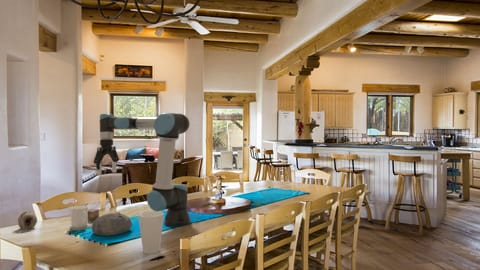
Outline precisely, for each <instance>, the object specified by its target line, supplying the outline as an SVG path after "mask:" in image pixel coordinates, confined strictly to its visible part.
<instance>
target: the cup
mask: <svg viewBox="0 0 480 270" xmlns="http://www.w3.org/2000/svg"><path fill="white" fill-rule="evenodd" d="M164 219H165V213H164V212H163V211H162V212H161V211H154V210H152V211H143V212H142V213H139V214H138V222H139V229H140V230H139V231H140V239H141V247H142V253H144V254H146V255H151V254H153V255H155V254H157V253H159V252H160V251H161V241H162V234H163V226H164V225H163V224H164Z"/></svg>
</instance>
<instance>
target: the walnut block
mask: <svg viewBox="0 0 480 270" xmlns="http://www.w3.org/2000/svg"><path fill="white" fill-rule="evenodd" d="M98 217H100V210H99V208H89V209H88V221H95V220H96V219H97V218H98Z"/></svg>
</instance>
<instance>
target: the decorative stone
mask: <svg viewBox="0 0 480 270" xmlns="http://www.w3.org/2000/svg"><path fill="white" fill-rule="evenodd" d="M91 224H92V227H91V231H92V232H93V234H95V235H98V236H115V235H120V234H123V233H125V232H128V231H131V228H132V226H133V223H132V220H131V217H129V216H127V215H126V214H123V213H121V212H120V211H119V212H118V211H116V212H112V213H106V214H103V215H101V216H100V215H99V217H98V218H97V219H96V220H95V221H94V222H93V223H91Z"/></svg>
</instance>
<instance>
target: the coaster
mask: <svg viewBox="0 0 480 270" xmlns="http://www.w3.org/2000/svg"><path fill="white" fill-rule="evenodd" d="M92 224H93V223H88V225H87V226H85V227H81V228H73V227H72V226H70V227H69V229H70V230H73V231H81V230H82V231H83V230H87V229H92Z"/></svg>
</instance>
